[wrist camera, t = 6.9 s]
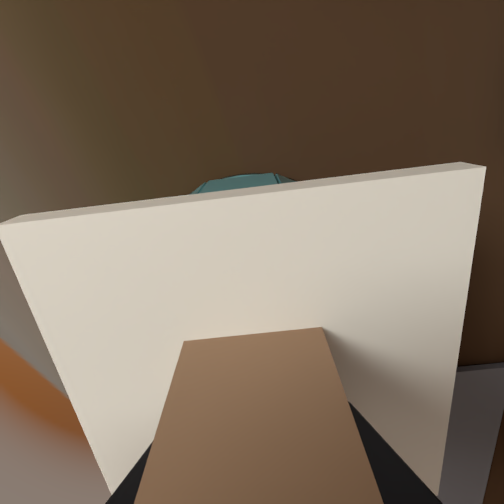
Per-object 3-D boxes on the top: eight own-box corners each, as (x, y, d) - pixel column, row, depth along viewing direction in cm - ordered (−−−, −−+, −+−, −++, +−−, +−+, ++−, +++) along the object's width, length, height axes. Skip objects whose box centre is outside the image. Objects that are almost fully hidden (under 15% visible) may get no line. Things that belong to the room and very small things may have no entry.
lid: (460, 161, 8) (981, 258, 2) (424, 468, 13) (577, 772, 7) (21, 215, 9) (-454, 405, 3) (131, 493, 13) (34, 796, 7)
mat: (508, 361, 19) (513, 366, 18) (475, 512, 24) (478, 518, 23) (268, 385, 19) (269, 390, 19) (287, 527, 24) (287, 533, 24)
